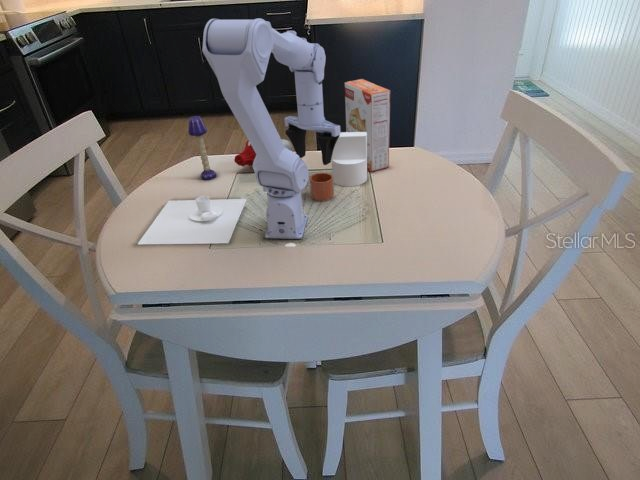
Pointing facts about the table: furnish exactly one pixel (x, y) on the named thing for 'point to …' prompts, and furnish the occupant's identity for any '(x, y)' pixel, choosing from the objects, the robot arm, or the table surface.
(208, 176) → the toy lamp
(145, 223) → the table surface
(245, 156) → the white lump red frill
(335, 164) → the cylinder with rectangular tab
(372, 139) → the cracker box
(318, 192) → the pot
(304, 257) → the table surface
